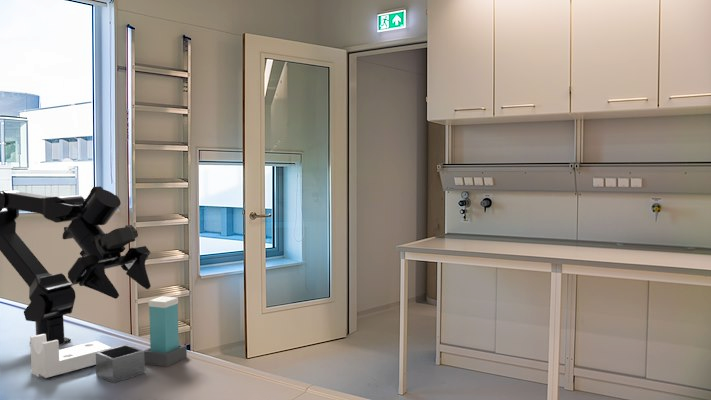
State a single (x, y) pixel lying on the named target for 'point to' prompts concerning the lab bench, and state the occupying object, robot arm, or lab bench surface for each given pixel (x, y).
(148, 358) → the frame
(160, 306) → the plug
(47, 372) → the bracket
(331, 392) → the lab bench surface
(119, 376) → the box
